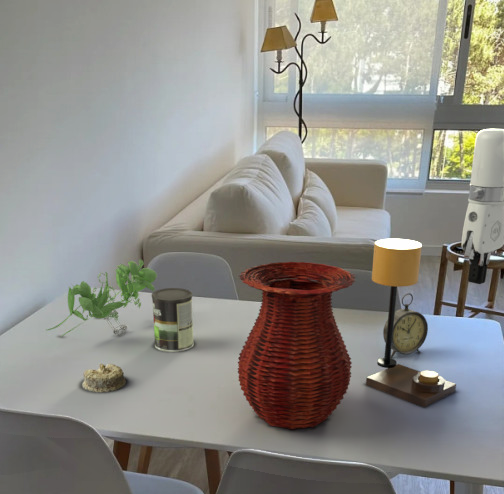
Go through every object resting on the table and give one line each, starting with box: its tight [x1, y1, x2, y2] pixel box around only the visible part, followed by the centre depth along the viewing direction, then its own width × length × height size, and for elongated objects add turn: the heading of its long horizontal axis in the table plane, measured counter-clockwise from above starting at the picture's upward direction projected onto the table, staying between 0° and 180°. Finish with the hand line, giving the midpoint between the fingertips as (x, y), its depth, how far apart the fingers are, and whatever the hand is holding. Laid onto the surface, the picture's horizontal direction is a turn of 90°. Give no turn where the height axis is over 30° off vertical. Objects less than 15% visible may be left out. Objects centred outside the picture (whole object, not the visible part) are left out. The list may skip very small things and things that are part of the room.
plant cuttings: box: [45, 259, 158, 337], centre depth 191 cm, size 35×17×22 cm
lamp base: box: [365, 363, 457, 409], centre depth 160 cm, size 16×12×4 cm
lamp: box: [371, 238, 423, 369], centre depth 157 cm, size 10×10×28 cm
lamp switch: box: [419, 370, 440, 384], centre depth 156 cm, size 4×4×2 cm
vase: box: [237, 261, 356, 430], centre depth 142 cm, size 23×24×30 cm
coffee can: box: [151, 287, 194, 353], centre depth 182 cm, size 10×10×14 cm
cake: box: [81, 363, 127, 393], centre depth 161 cm, size 10×10×5 cm
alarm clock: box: [382, 292, 429, 359], centre depth 176 cm, size 11×5×16 cm, turn 114°
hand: (476, 282), depth 151 cm, fingers closed
